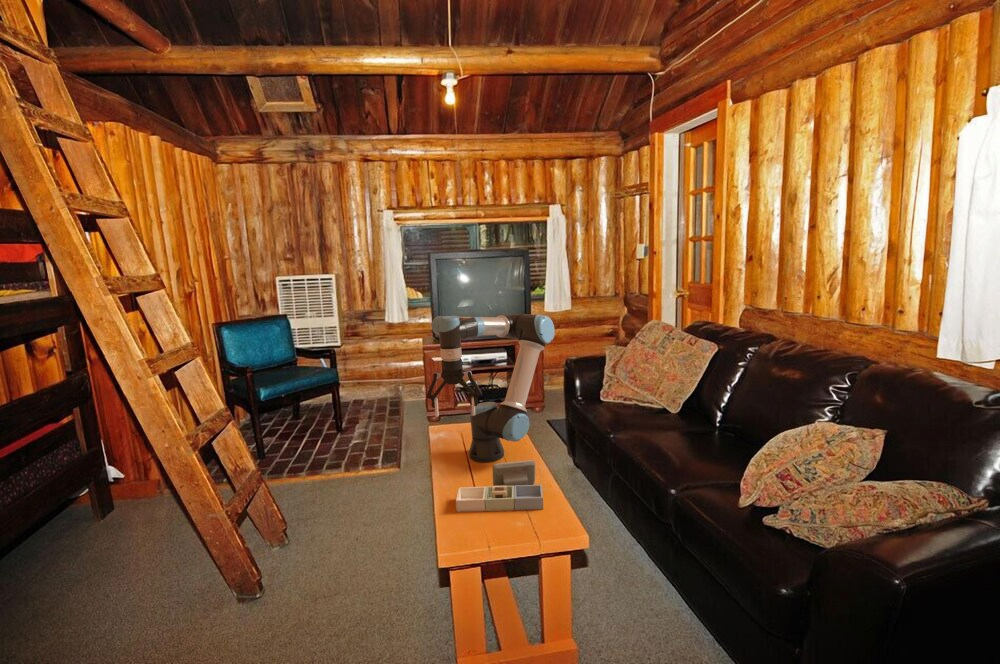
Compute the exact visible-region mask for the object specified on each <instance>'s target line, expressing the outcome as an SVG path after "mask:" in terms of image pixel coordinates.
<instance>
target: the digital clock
mask: <svg viewBox="0 0 1000 664" xmlns="http://www.w3.org/2000/svg"><path fill="white" fill-rule="evenodd" d="M535 482H536V460H533V459H528V460H521V461H510V462H501V463H495V464H493V465H492V486H517V485H535Z"/></svg>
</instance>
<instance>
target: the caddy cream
mask: <svg viewBox="0 0 1000 664" xmlns="http://www.w3.org/2000/svg"><path fill="white" fill-rule="evenodd" d="M486 488H487V486H466V487H465V486H464V487H458V491H457V495H456V498H455V507H456V513H470V512H471V513H472V512H486V508H485V496H486Z"/></svg>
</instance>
